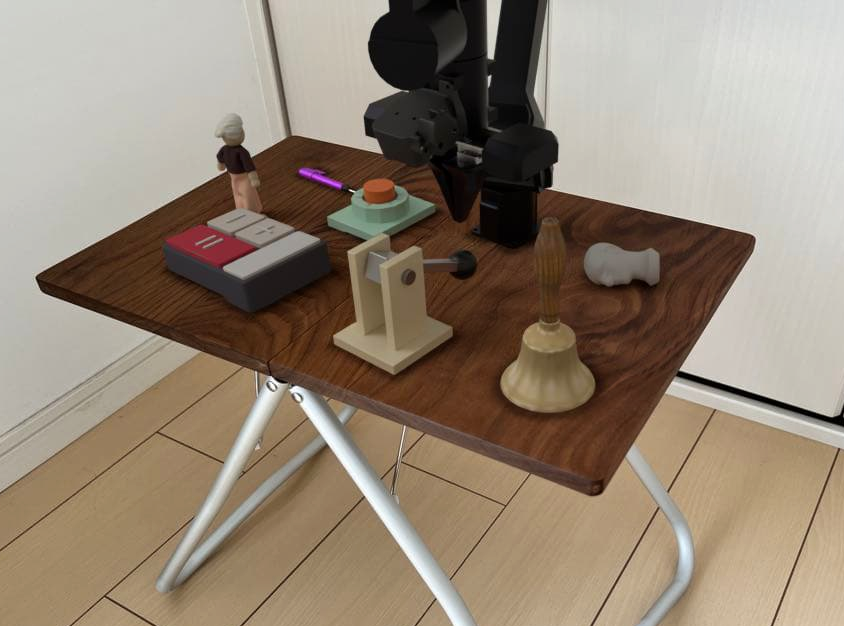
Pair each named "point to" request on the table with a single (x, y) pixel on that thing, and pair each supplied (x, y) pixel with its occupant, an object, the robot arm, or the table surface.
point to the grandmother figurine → (238, 163)
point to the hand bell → (548, 341)
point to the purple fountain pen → (323, 179)
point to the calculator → (247, 258)
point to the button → (379, 191)
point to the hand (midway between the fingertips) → (460, 220)
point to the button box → (380, 215)
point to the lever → (427, 264)
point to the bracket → (390, 310)
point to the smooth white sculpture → (621, 265)
